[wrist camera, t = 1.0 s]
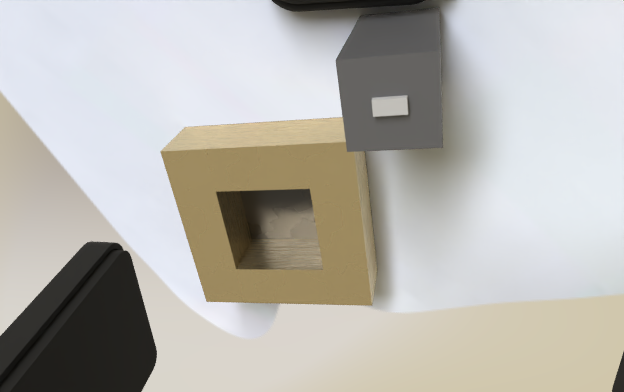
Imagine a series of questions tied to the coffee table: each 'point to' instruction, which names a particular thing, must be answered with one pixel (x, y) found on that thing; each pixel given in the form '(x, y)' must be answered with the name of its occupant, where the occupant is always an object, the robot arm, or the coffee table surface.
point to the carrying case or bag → (338, 4)
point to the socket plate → (275, 212)
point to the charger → (392, 82)
